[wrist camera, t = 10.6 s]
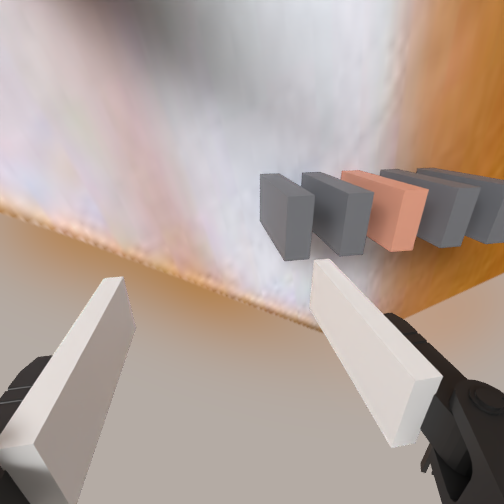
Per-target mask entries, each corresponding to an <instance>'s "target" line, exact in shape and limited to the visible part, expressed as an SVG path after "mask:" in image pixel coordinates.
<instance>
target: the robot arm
mask: <svg viewBox="0 0 504 504" xmlns="http://www.w3.org/2000/svg"><path fill="white" fill-rule="evenodd" d="M309 309H310V310H311V312H312V314H313V316H314V317H315V319H316V321H317V322H318V324H319V326H320V327H321V329H322V331H323V333H324V334H325V336H326V338H327V339H328V341H329V343H330V344H331V346H332V348H333V350H334V351H335V353H336V355H337V356H338V358H339V360H340V361H341V363H342V365H343V367H344V368H345V370H346V372H347V373H348V375H349V377H350V378H351V380H352V382H353V384H354V385H355V387H356V389H357V390H358V392H359V393H360V395H361V397H362V399H363V401H364V402H365V404H366V406H367V407H368V409H369V411H370V412H371V414H372V416H373V418H374V419H375V421H376V423H377V424H378V426H379V428H380V429H381V431H382V433H383V435H384V436H385V438H386V439H387V441H388V443H389V445H390V447H391V448H393V447H399V446H404V445H408V444H413V443H416V440H417V438H418V435H419V433H420V431H422V432H423V434H424V435H425V436H426V438H427V439H428V440H429V442H430V444H429V446H428V448H427V450H426V453H425V455H424V457H423V459H422V461H421V472H424V473H426V471H427V469H428V467H429V464H431V467H432V475H434V477H435V481H436V484H437V488H438V491H439V494H440V498H441V501H442V504H504V393H502V392H501V391H500V390H498V389H496V388H494V387H492V386H490V385H488V384H486V383H483V382H480V381H476V380H468V379H467V378H466V377H464V376H463V375H462V374H461V373H460V372H459V371H458V370H457V369H456V368H455V367H454V366H453V365H452V364H451V363H450V362H448V360H446V358H444V357H443V356H442V355H441V354H440V353H439V352H438V351H437V350H436V349H435V348H434V347H433V346H432V345H431V344H430V343H427V341H426V340H425V339H424V338H423V337H422V336H421V335H420V334H418V333H417V331H416V330H415V329H414V328H413V327H412V326H411V325H410V324H409V323H408V322H406V321H405V320H403V319H402V318H400V317H398V316H397V315H395V314H393V313H386V314H383V313H382V312H381V311H380V310H379V309H378V308H377V307H376V306H375V305H374V304H373V303H372V302H371V301H370V300H369V299H368V298H367V297H366V296H365V295H364V294H363V293H362V292H361V291H360V290H359V289H358V288H357V287H356V286H355V285H354V283H353V282H352V281H351V280H350V279H349V278H348V277H347V276H346V275H345V274H344V273H343V272H342V271H341V270H340V269H339V268H338V267H337V266H336V265H335V264H334V263H333V262H332V261H331V260H330V259H319V260H314V265H313V275H312V285H311V295H310V305H309ZM135 329H136V326H135V322H134V318H133V314H132V310H131V305H130V302H129V298H128V293H127V289H126V285H125V281H124V277H112V278H104V279H103V280H102V282H101V283H100V285H99V286H98V288H97V289H96V291H95V292H94V294H93V295H92V297H91V298H90V300H89V301H88V303H87V304H86V306H85V308H84V309H83V311H82V312H81V314H80V315H79V317H78V318H77V320H76V321H75V323H74V324H73V326H72V327H71V329H70V330H69V332H68V333H67V335H66V336H65V338H64V339H63V341H62V342H61V344H60V345H59V347H58V348H57V350H56V351H55V353H54V354H53V355H52V356H43V357H38V358H36V359H35V360H34V361H33V362H32V363H30V364H29V365H28V366H26V367H25V368H24V369H23V370H22V371H21V372H20V373H19V374H18V375H17V377H16V378H15V379H14V381H13V382H12V383H11V385H10V386H9V387H8V391H5V393H4V394H3V395H2V397H1V398H0V504H77V502H78V499H79V496H80V493H81V490H82V487H83V484H84V481H85V478H86V475H87V472H88V469H89V466H90V463H91V460H92V457H93V454H94V451H95V448H96V445H97V442H98V439H99V436H100V433H101V430H102V428H103V424H104V422H105V419H106V415H107V413H108V409H109V407H110V404H111V401H112V398H113V395H114V392H115V389H116V386H117V383H118V380H119V377H120V374H121V371H122V368H123V365H124V362H125V359H126V356H127V353H128V350H129V347H130V344H131V341H132V338H133V335H134V332H135Z"/></svg>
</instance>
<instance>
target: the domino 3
mask: <svg viewBox="0 0 504 504" xmlns="http://www.w3.org/2000/svg"><path fill="white" fill-rule="evenodd" d="M341 180H343V181H346V182H348V183H351V184H354V185H356V186H359V187H362V188H364V189H367V190H370V191H372V192H374V197H373V203H372V208H371V213H370V219H369V224H368V230H367V235H366V236H367V237H369V238H370V239H372V240H373V241H375V242H376V243H378V244H379V245H381V246H382V247H384V248H385V249H387V250H388V251H390V252H395V251H407V250H413V246H414V243H415V239H416V235H417V231H418V228H419V224H420V220H421V217H422V213H423V209H424V206H425V202H426V198H427V195H428V191H429V189H426V188H422V187H418V186H415V185H411V184H407V183H404V182H400V181H396V180H393V179H389V178H385V177H382V176H378V175H374V174H371V173H367V172H363V171H360V170H354V171H342V174H341Z"/></svg>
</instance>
